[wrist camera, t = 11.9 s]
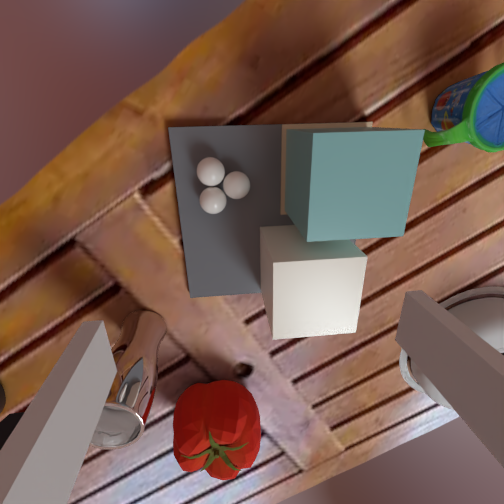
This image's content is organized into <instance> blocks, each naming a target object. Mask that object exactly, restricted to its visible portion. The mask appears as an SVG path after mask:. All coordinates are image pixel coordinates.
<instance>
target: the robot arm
mask: <svg viewBox="0 0 504 504" xmlns="http://www.w3.org/2000/svg"><path fill="white" fill-rule="evenodd" d="M395 340H396V341H397V343H398V344H399V345H400V346H401V347H402V349H403V350H404V351H405V352H406V353H407V354H408V356H409V357H410V358H411V359H412V360H413V362H414V363H415V364H416V365H417V366H418V367H419V369H420V370H421V371H422V372H423V373H424V374H425V376H426V377H427V378H428V379H429V380H430V382H431V383H432V384H433V385H434V386H435V387H436V389H437V390H438V391H439V392H440V393H441V394H442V396H443V397H444V398H445V399H446V400H447V402H448V403H449V404H450V405H451V406H452V407H453V409H454V410H455V411H456V412H457V413H458V415H459V416H460V417H461V418H462V419H463V420H464V421H465V423H466V424H467V425H468V426H469V427H470V429H471V430H472V431H473V432H474V433H475V434H476V436H477V437H478V438H479V439H480V440H481V442H482V443H483V444H484V445H485V446H486V447H487V449H488V450H489V451H490V452H491V453H492V455H494V457H495V458H496V459H497V460H498V462H499V463H500V464H501V465H502V466H503V467H504V353H500V352H499V351H497V350H496V349H495V348H494V347H492V346H491V345H490V344H488V343H487V342H486V341H485V340H483V339H482V338H481V337H480V336H478V335H477V334H476V333H475V332H473V331H472V330H471V329H470V328H468V327H467V326H466V325H465V324H463V323H462V322H461V321H460V320H458V319H457V318H456V317H455V316H453V315H452V314H451V313H449V312H448V311H447V310H446V309H444V308H443V307H442V306H441V305H439V304H438V303H437V302H436V301H434V300H433V299H432V298H431V297H429V296H428V295H427V294H426V293H424V292H423V291H422V290H419V291H408V292H406V293H405V298H404V302H403V307H402V311H401V316H400V320H399V325H398V329H397V334H396V338H395ZM116 373H117V369H116V365H115V362H114V358H113V354H112V351H111V347H110V344H109V340H108V337H107V333H106V329H105V326H104V322H103V320H99V321H88V322H83V323H82V324H81V326H80V327H79V329H78V330H77V332H76V334H75V335H74V337H73V338H72V340H71V341H70V343H69V344H68V346H67V348H66V349H65V351H64V352H63V354H62V355H61V357H60V358H59V360H58V362H57V363H56V365H55V366H54V368H53V369H52V371H51V372H50V374H49V376H48V377H47V379H46V380H45V382H44V383H43V385H42V386H41V388H40V390H39V391H38V393H37V394H36V396H35V397H34V399H33V400H32V402H31V404H30V405H29V407H28V408H27V410H26V411H25V412H22V413H14V414H9V415H8V416H7V417H6V418H5V419H3V420H2V421H1V422H0V504H67V502H68V500H69V497H70V495H71V492H72V489H73V487H74V484H75V481H76V479H77V476H78V473H79V471H80V468H81V465H82V463H83V460H84V458H85V455H86V452H87V450H88V447H89V444H90V442H91V439H92V436H93V434H94V431H95V428H96V426H97V423H98V420H99V418H100V415H101V413H102V410H103V407H104V405H105V402H106V399H107V397H108V394H109V391H110V389H111V386H112V383H113V381H114V378H115V375H116ZM5 401H6V397H5V392H4V389H3V387H2V385H1V384H0V413H1V412H2V410H3V408H4V406H5Z"/></svg>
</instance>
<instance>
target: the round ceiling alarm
mask: <svg viewBox="0 0 504 504" xmlns="http://www.w3.org/2000/svg"><path fill="white" fill-rule="evenodd" d="M482 294H502V295H504V287H497V286H493V287H482V288H476V289H472V290H468V291H465V292H462V293H460V294H457V295H455V296H453V297H451V298H449V299H447V300H445V301H444V302H442V303H440V304H439V305H441V306H442V307H443V308H444V309H445V308H446V307H448V306H450V305H451V304H454V303H456V302H458V301H460V300H463V299H465V298H468V297H472V296H476V295H482ZM448 312H449V313H451V314H452V315H453V316H455V317H456V318H457V319H458V320H460V321H461V322H462V323H463V324H465V325H466V326H467V327H468V328H470V329H471V330H472V331H473V332H475V333H476V334H477V335H478V336H480V337H481V338H482V339H483V340H485V341H486V342H487V343H488V344H490V345H491V346H492V347H494V348H495V349H496V350H497V351H499V352H500V353H504V298H496V297H492V298H482V299H475V300H471V301H468V302H465V303H462V304H459V305H457V306H455V307H453V308H451V309H449V310H448ZM407 356H408V354H407V353H406V352H405V351H404V350H403V349H402V350H401V353H400V360H399V362H400V370H401V374H402V376H403V378H404V380H405V381H406V382H407V383H408V384H409V385H410V386H411V387H412V388H414V389H415V390H417V391H419V392H422V393H425V394H427V395H428V396H429V397H430V398H431V399H432V400H433V401H435V402H436V403H438V404H440V405H441V406H444V407H446V408H449V409H453V407H452V406H451V405H450V404H449V403H448V402H447V400H446V399H445V398H444V397H443V396H442V394H441V393H440V392H439V391H438V390H437V389H436V387H435V386H434V385H433V384H432V383H431V382H430V380H429V379H428V378H427V377H426V376H425V374H424V373H423V372H422V371H421V370H420V369H419V367H418V366H417V365H416V364H415V363H414V362H413V360H412V359H411V370H412V373H413V376H414V378H415V379H416V381H417V382H418V383H419V384H417V383H416V382H415V381H414V380H413V379H412V378H411V376H410V374H409V372H408V368H407ZM453 410H454V409H453Z"/></svg>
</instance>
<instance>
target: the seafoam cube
mask: <svg viewBox="0 0 504 504" xmlns="http://www.w3.org/2000/svg"><path fill="white" fill-rule="evenodd" d="M424 132H425V130H420V129H400V128H379V127H347V128H312V129H287V130H286V172H285V212H286V213H287V215H288V216H289V217H290V219H291V220H292V222H293V223H294V224H295V226H296V227H297V229H298V230H299V231H300V233H301V234H302V236H303V237H304V238H305V240H306V241H307V242H314V241H331V240H347V239H364V238H380V237H397V236H403V235H404V230H405V225H406V220H407V215H408V210H409V205H410V201H411V196H412V191H413V186H414V181H415V176H416V171H417V166H418V161H419V156H420V151H421V147H422V142H423V137H424Z"/></svg>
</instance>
